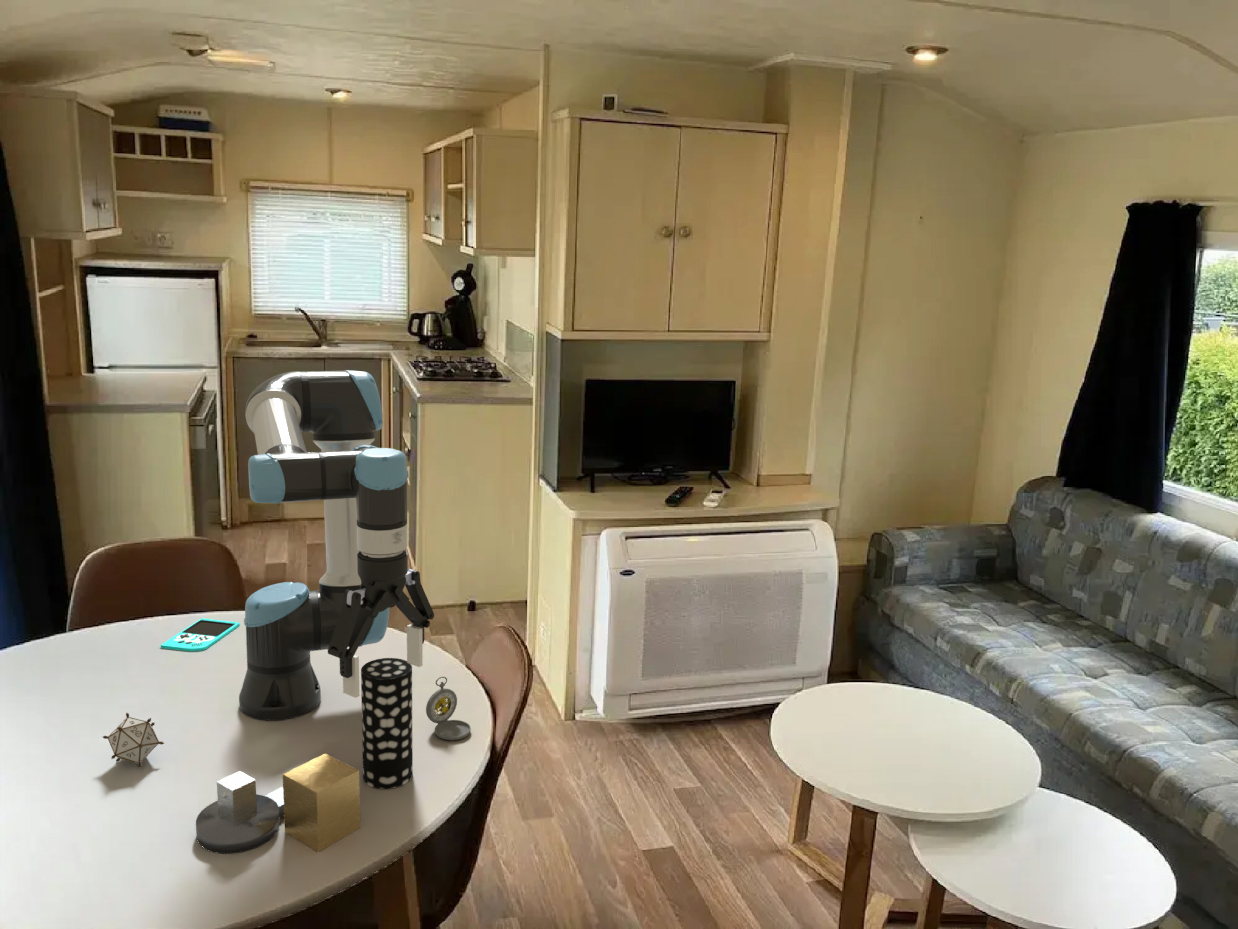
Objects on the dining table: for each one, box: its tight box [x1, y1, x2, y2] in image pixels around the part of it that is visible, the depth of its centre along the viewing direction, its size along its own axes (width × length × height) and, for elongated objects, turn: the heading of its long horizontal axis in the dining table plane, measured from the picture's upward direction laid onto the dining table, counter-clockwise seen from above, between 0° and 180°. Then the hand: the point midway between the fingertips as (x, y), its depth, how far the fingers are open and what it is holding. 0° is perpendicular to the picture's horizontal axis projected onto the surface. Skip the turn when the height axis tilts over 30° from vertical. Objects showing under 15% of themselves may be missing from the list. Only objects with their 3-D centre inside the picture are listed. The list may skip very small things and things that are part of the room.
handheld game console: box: [160, 618, 241, 652], centre depth 223 cm, size 10×16×1 cm, turn 170°
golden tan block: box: [282, 753, 361, 853], centre depth 154 cm, size 8×8×10 cm
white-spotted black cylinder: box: [360, 657, 414, 790], centre depth 168 cm, size 8×8×20 cm
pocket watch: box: [425, 676, 472, 741], centre depth 186 cm, size 8×8×10 cm
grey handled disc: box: [195, 770, 284, 855], centre depth 158 cm, size 24×12×8 cm, turn 145°
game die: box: [102, 712, 165, 769], centre depth 171 cm, size 9×8×10 cm
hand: (384, 679), depth 156 cm, fingers open, 13 cm apart
